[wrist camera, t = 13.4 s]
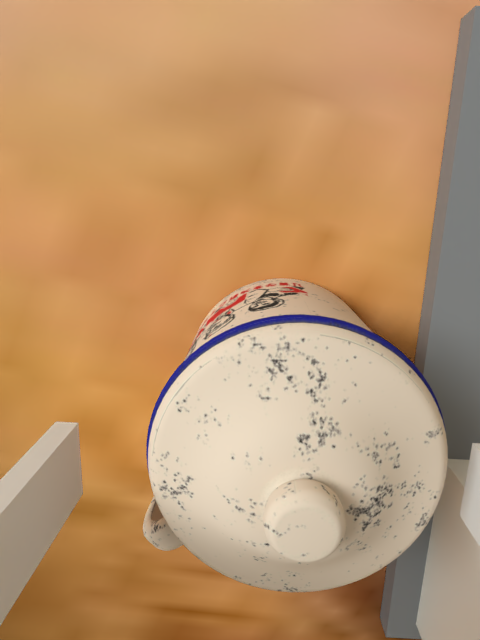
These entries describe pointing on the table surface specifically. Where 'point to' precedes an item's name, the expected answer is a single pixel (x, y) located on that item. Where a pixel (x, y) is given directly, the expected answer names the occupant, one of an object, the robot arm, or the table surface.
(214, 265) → the table surface
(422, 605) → the block
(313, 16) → the table surface
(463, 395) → the board
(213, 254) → the table surface
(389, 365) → the teacup with lid
